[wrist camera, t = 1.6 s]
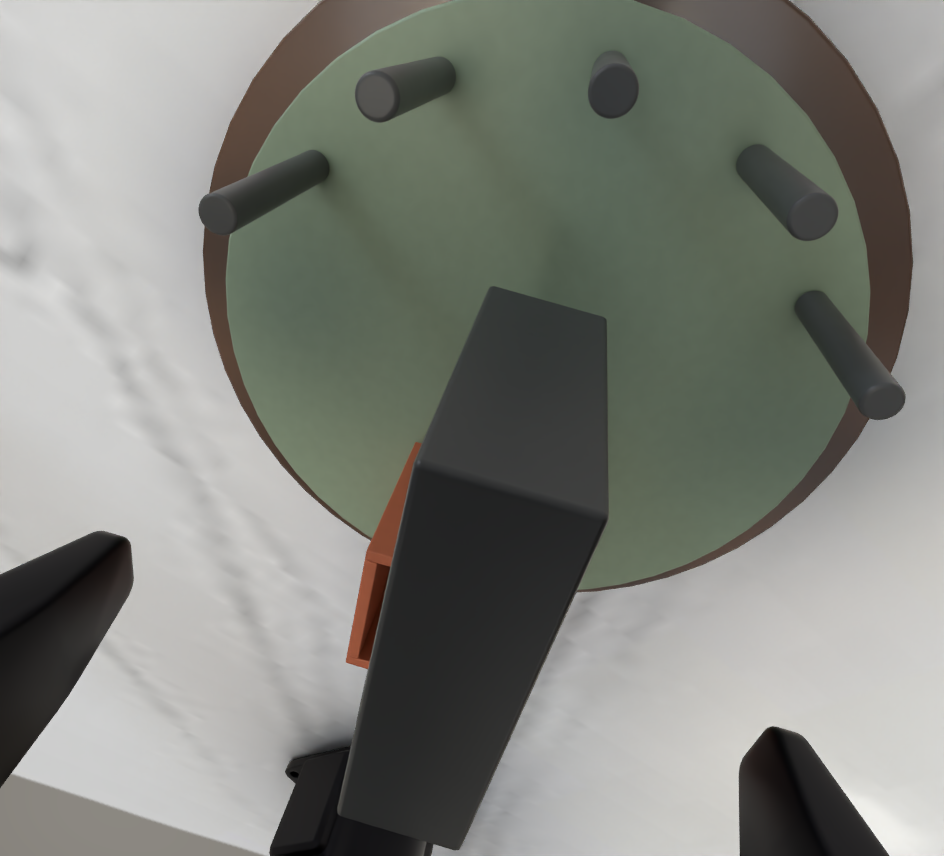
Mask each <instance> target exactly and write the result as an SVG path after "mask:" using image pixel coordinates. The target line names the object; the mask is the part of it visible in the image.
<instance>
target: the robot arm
mask: <svg viewBox="0 0 944 856" xmlns="http://www.w3.org/2000/svg"><path fill="white" fill-rule="evenodd" d="M133 579H134V576H133V565H132V553H131V544H130V542H129V540H128V539H127V538H125V537H123V536H119V535H116V534H112V533H109V532H105V531H97V532H93V533H90V534H88V535H86V536H84V537H82V538H79V539H77V540H75V541H73V542H71V543H68V544H66V545H64V546H62V547H60V548H57V549H55V550H53V551H51V552H49V553H47V554H44V555H42V556H40V557H38V558H36V559H33V560H31V561H29V562H27V563H25V564H22V565H20V566H18V567H16V568H14V569H11V570H9V571H7V572H5V573H3V574H0V788H1V786H2V785H3V784H4V782H5V781H6V779H7V778H8V777H9V775H10V774H11V773H12V771H13V770H14V769H15V767H16V766H17V765H18V763H19V762H20V761H21V759H22V758H23V757H24V755H25V754H26V753H27V751H28V750H29V749H30V747H31V746H32V745H33V743H34V742H35V741H36V739H37V738H38V736H39V735H40V734H41V732H42V731H43V730H44V728H45V727H46V726H47V724H48V723H49V722H50V720H51V719H52V718H53V716H54V715H55V714H56V712H57V711H58V710H59V708H60V707H61V705H62V704H63V702H64V701H65V700H66V698H67V697H68V695H69V694H70V692H71V691H72V689H73V688H74V686H75V684H76V683H77V681H78V680H79V678H80V676H81V675H82V673H83V671H84V670H85V668H86V666H87V665H88V663H89V661H90V660H91V658H92V656H93V655H94V653H95V651H96V649H97V648H98V646H99V644H100V643H101V641H102V639H103V638H104V636H105V634H106V633H107V631H108V629H109V628H110V626H111V624H112V623H113V621H114V619H115V618H116V616H117V614H118V613H119V611H120V609H121V608H122V606H123V604H124V603H125V601H126V599H127V598H128V596H129V594H130V591H131V589H132V586H133ZM350 749H351V746H349V747H345V748H341V749H337V750H333V751H329V752H325V753H320V754H316V755H312V756H308V757H304V758H300V759H296V760H292V761H290V762H289V764H288V766H287V768H286V771H285V773H286V775H287V776H288V777H289V778H290V779H291V780H292V781H293V782H294V783H295V787H294V789H293V792H292V794H291V797H290V799H289V802H288V804H287V807H286V809H285V812H284V814H283V817H282V819H281V822H280V824H279V827H278V829H277V831H276V834H275V836H274V839H273V841H272V844H271V847H270V852H269V853H270V856H431V854H432V849H433V844H432V843H429V842H425V841H422V840H419V839H415V838H412V837H409V836H406V835H402V834H399V833H396V832H392V831H389V830H386V829H382V828H379V827H376V826H372V825H369V824H366V823H362V822H359V821H356V820H352V819H349V818H346V817H343V816H340V815H339V814H338V811H337V808H338V803H339V798H340V794H341V789H342V785H343V780H344V776H345V771H346V767H347V762H348V758H349V753H350ZM739 831H740V856H889V854H888V853H887V852H886V850H885V849H884V847H883V846H882V845H881V843H880V842H879V840H878V839H877V838H876V836H875V835H874V833H873V832H872V831H871V829H870V828H869V827H868V825H867V824H866V822H865V821H864V820H863V818H862V817H861V815H860V814H859V813H858V811H857V810H856V808H855V807H854V806H853V804H852V803H851V801H850V800H849V799H848V797H847V796H846V794H845V793H844V792H843V790H842V789H841V787H840V786H839V785H838V783H837V782H836V780H835V779H834V778H833V776H832V775H831V773H830V772H829V771H828V769H827V768H826V766H825V765H824V764H823V762H822V761H821V759H820V758H819V757H818V755H817V754H816V752H815V751H814V750H813V748H812V747H811V745H810V744H809V743H808V741H807V740H806V739H805V738H804V737H803V736H802V735H800V734H798V733H796V732H792V731H789V730H786V729H782V728H779V727H774V726H772V727H769V728H767V729H766V730H765V731H764V732H763V733H762V735H761V736H760V737H759V738H758V740H757V741H756V742H755V743H754V745H753V746H752V747H751V748H750V750H749V751H748V752H747V753H746V754H745V756H744V757H743V759H742V762H741V764H740V769H739Z"/></svg>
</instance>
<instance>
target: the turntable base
mask: <svg viewBox="0 0 944 856" xmlns="http://www.w3.org/2000/svg"><path fill="white" fill-rule="evenodd" d="M450 1H453V0H321V1H320V2H319V3H318V4H317V5H316V6H315V7H314V8H313V9H312V10H311V11H310V12H309V13H308V14H307V15H306V16H305V17H304V18H303V19H302V20H301V21H300V22H299V23H298V24H297V25H296V26H295V27H294V28H293V29H292V30H291V31H290V32H289V33H288V34H287V35H286V36H285V37H284V38H283V39H282V40H281V42H280V43H279V45H278V46H277V47H276V49H275V50H274V51H273V53H272V54H271V55H270V57H269V58H268V59H267V61H266V62H265V64H264V65H263V66H262V68H261V69H260V70H259V72H258V73H257V74H256V76H255V77H254V78H253V80H252V82H251V84H250V86H249V88H248V90H247V91H246V93H245V95H244V97H243V99H242V101H241V103H240V105H239V107H238V108H237V110H236V112H235V114H234V116H233V118H232V120H231V122H230V125H229V127H228V130H227V133H226V136H225V139H224V141H223V144H222V147H221V150H220V153H219V155H218V158H217V161H216V164H215V167H214V172H213V177H212V182H211V187H210V192H209V193H212V192H214V191H216V190H219V189H221V188H223V187H225V186H228V185H230V184H232V183H235V182H237V181H239V180H241V179H244V178H246V177H247V176H248V174H249V171H250V169H251V166H252V164H253V161H254V160H255V158H256V156H257V154H258V153H259V151H260V149H261V147H262V146H263V144H264V142H265V140H266V139H267V137H268V135H269V133H270V132H271V130H272V128H273V126H274V125H275V123H276V122H277V121H278V120H279V118H280V117H281V116H282V115H283V113H284V112H285V111H286V110H287V108H288V107H289V106H290V104H291V103H292V102H293V101H294V99H295V98H296V97H297V96H298V94H299V93H300V92H301V91H302V89H304V88H305V87H306V86H307V85H308V84H309V83H310V82H311V81H312V80H313V79H314V78H315V77H316V76H317V75H319V74H320V73H321V72H322V71H323V70H324V69H325V68H326V67H327V66H328V65H329V64H330V63H331V62H333V61H334V60H335V59H336V58H337V57H339V56H340V55H342V54H343V53H345V52H346V51H347V50H349V49H350V48H352V47H353V46H355V45H356V44H358V43H359V42H361V41H362V40H364V39H365V38H367V37H368V36H370V35H371V34H373V33H374V32H376V31H377V30H380V29H382V28H384V27H386V26H388V25H390V24H392V23H394V22H397V21H399V20H401V19H403V18H405V17H407V16H409V15H411V14H413V13H416V12H418V11H420V10H422V9H426V8H429V7H433V6H436V5H439V4H443V3H446V2H450ZM634 1H637V2H639V3H642V4H645V5H648V6H651V7H653V8H656V9H659V10H662V11H664V12H667V13H670V14H673V15H676V16H678V17H681V18H684V19H686V20H687V21H689V22H691V23H693V24H695V25H697V26H698V27H700V28H702V29H704V30H706V31H707V32H709V33H711V34H713V35H715V36H716V37H718V38H720V39H722V40H724V41H726V42H727V43H729V44H731V45H732V46H733V47H735V48H736V49H737V50H739V51H740V52H741V53H742V54H744V55H745V56H746V57H748V58H749V59H750V60H751V61H753V62H754V63H755V64H756V65H758V66H759V67H760V68H762V69H763V70H764V71H765V72H767V73H768V74H769V75H770V76H772V77H773V78H774V79H775V80H776V81H777V83H778V84H779V85H780V86H781V87H782V88H783V89H784V90H785V91H786V92H787V93H788V94H789V96H790V97H791V98H792V99H793V100H794V101H795V102H796V103H797V104H798V105H799V106H800V108H801V109H802V110H803V111H804V112H805V113H806V114H807V115H808V117H809V118H810V120H811V121H812V123H813V124H814V126H815V127H816V129H817V130H818V132H819V133H820V135H821V137H822V138H823V140H824V141H825V143H826V144H827V146H828V147H829V149H830V150H831V152H832V153H833V155H834V156H835V158H836V161H837V163H838V165H839V167H840V170H841V172H842V174H843V176H844V179H845V181H846V183H847V185H848V188H849V190H850V192H851V194H852V197H853V199H854V201H855V205H856V209H857V213H858V217H859V220H860V224H861V228H862V232H863V236H864V240H865V244H866V249H867V260H868V270H869V281H870V306H869V322H868V335H867V340H866V344H867V345H868V347H869V348H870V349H871V350H872V352H873V353H874V354H875V355H876V357H877V358H878V359H879V360H880V361H881V363H882V364H883V365H884V366H885V368H886V369H887V370H888V371H889V373H890V374H891V371H892V369H893V366H894V364H895V361H896V359H897V356H898V352H899V347H900V343H901V339H902V335H903V331H904V327H905V323H906V319H907V315H908V311H909V300H910V290H911V279H912V268H913V252H912V236H911V220H910V209H909V205H908V200H907V196H906V191H905V187H904V183H903V178H902V174H901V169H900V165H899V160H898V158H897V155H896V153H895V150H894V148H893V145H892V143H891V140H890V138H889V135H888V133H887V131H886V128H885V126H884V123H883V121H882V118H881V116H880V113H879V111H878V109H877V107H876V105H875V104H874V102H873V100H872V99H871V97H870V96H869V94H868V92H867V91H866V89H865V87H864V86H863V84H862V83H861V81H860V79H859V78H858V76H857V75H856V73H855V71H854V70H853V68H852V66H851V65H850V63H849V62H848V60H847V59H846V58H845V57H844V56H843V54H842V53H841V52H840V51H839V50H838V49H837V48H836V46H835V45H834V44H833V43H832V42H831V41H830V40H829V39H828V37H827V36H826V35H825V34H824V33H823V32H822V31H821V29H820V28H819V27H818V26H817V25H816V24H815V23H814V21H813V20H812V19H811V18H810V17H809V16H808V15H807V14H805V13H804V12H803V11H802V10H800V9H799V8H798V7H797V6H795V5H794V4H793V3H792V2H791V1H789V0H634ZM229 238H230V234H229V235H224V236H223V235H218V234H215V233H213V232H211V231H210V230H208V229H207V228H206V227H205V229H204V245H203V261H204V276H205V292H206V298H207V303H208V309H209V314H210V319H211V324H212V329H213V334H214V337H215V340H216V343H217V346H218V350H219V353H220V356H221V359H222V362H223V365H224V368H225V371H226V373H227V375H228V378H229V380H230V382H231V384H232V386H233V389H234V391H235V393H236V395H237V397H238V400H239V402H240V404H241V406H242V407H243V409H244V411H245V412H246V414H247V416H248V417H249V419H250V421H251V422H252V424H253V426H254V427H255V429H256V431H257V432H258V434H259V436H260V437H261V439H262V440H263V441H264V443H265V444H266V445H267V446H268V448H269V449H270V450H271V452H272V453H273V454H274V456H275V457H276V458H277V460H278V461H279V462H280V464H281V465H282V466H283V467H284V468H285V469H286V470H287V471H288V473H289V474H290V475H291V476H292V477H293V478H294V479H295V480H296V481H297V482H298V483H299V484H300V485H301V486H302V488H303V489H304V490H305V491H306V492H307V493H309V494H310V495H311V496H312V497H313V498H314V499H315V500H317V501H318V502H319V503H320V504H321V505H322V506H323V507H325V508H326V509H327V510H328V511H329V512H330V513H331V514H333V515H334V516H335V517H337V518H338V519H340V520H341V521H342V522H344V523H345V524H347V525H348V526H349V527H351V528H352V529H354V530H355V531H356V532H358V533H359V534H361V535H362V536H364V537H366V538H367V539H369V540H372V538H370V537H369V536H367V535H366V534H365V533H363V532H362V531H360V530H359V529H358V528H356V527H355V526H353V525H352V524H351V523H349V522H348V521H346V520H345V519H344V518H342V517H341V516H340V515H339V514H338V513H337V512H335V511H334V510H333V509H332V508H331V507H330V506H329V505H327V504H326V503H325V502H324V501H323V500H322V499H321V498H319V497H318V496H317V495H316V494H315V493H314V491H313V490H312V489H311V488H310V487H309V486H308V485H307V484H306V483H305V482H304V481H303V480H302V479H301V477H300V476H299V475H298V474H297V473H296V472H295V471H294V469H293V468H292V467H291V465H290V464H289V463H288V461H287V460H286V459H285V457H284V456H283V455H282V453H281V452H280V451H279V449H278V448H277V447H276V445H275V444H274V442H273V440H272V439H271V437H270V435H269V434H268V432H267V430H266V428H265V427H264V425H263V423H262V422H261V420H260V418H259V417H258V415H257V412H256V410H255V408H254V406H253V403H252V401H251V399H250V397H249V394H248V392H247V390H246V388H245V385H244V382H243V379H242V376H241V373H240V370H239V366H238V363H237V360H236V357H235V353H234V350H233V344H232V338H231V333H230V327H229V321H228V316H227V296H226V269H227V258H228V246H229ZM868 420H869V418H867V417H865V416H864V415H863V414H861V412H860V411H859V409H858V408H857V406H856V405H855V403H854V402H853V400H852V399H851V397H850V400H849V403H848V405H847V408H846V411H845V413H844V415H843V417H842V419H841V421H840V423H839V424H838V426H837V428H836V430H835V432H834V433H833V435H832V437H831V439H830V441H829V443H828V444H827V446H826V448H825V450H824V451H823V452H822V454H821V455H820V456H819V458H818V459H817V460H816V462H815V463H814V464H813V466H812V467H811V468H810V470H809V471H808V473H807V474H806V475H805V477H804V478H803V479H802V480H801V481H800V482H799V483H798V485H797V486H796V487H795V488H794V489H793V490H792V491H791V492H790V493H789V494H788V495H787V496H786V497H785V498H784V499H783V500H782V501H781V502H780V503H779V504H778V505H777V506H776V507H775V508H774V509H773V510H771V511H770V512H769V513H768V514H767V515H765V516H764V517H763V518H762V519H760V520H759V521H758V522H757V523H756V524H754V525H753V526H752V527H751V528H749V529H748V530H747V531H745V532H743V533H742V534H740V535H739V536H737V537H736V538H734V539H732V540H731V541H729V542H728V543H726V544H725V545H723V546H721V547H720V548H718V549H716V550H714V551H712V552H710V553H708V554H706V555H704V556H702V557H700V558H698V559H696V560H694V561H692V562H690V563H688V564H686V565H683V566H680V567H677V568H675V569H672V570H669V571H666V572H664V573H661V574H658V575H655V576H652V577H648V578H644V579H640V580H636V581H632V582H628V583H624V584H620V585H613V586H606V587H599V588H592V589H581V590H577V592H594V591H602V590H609V589H616V588H623V587H630V586H635V585H639V584H643V583H647V582H651V581H655V580H659V579H663V578H667V577H670V576H673V575H675V574H678V573H681V572H684V571H687V570H689V569H692V568H695V567H698V566H701V565H703V564H705V563H707V562H709V561H712V560H714V559H716V558H718V557H720V556H722V555H724V554H726V553H728V552H730V551H732V550H734V549H736V548H738V547H740V546H741V545H743V544H745V543H746V542H748V541H749V540H751V539H753V538H754V537H756V536H757V535H759V534H761V533H762V532H764V531H765V530H767V529H769V528H770V527H772V526H773V525H774V524H775V523H777V522H778V521H779V520H780V519H782V518H783V517H784V516H785V515H787V514H788V513H789V512H790V511H792V510H793V509H794V508H795V507H797V506H798V505H799V504H800V503H802V502H803V501H804V500H805V499H806V498H807V497H808V496H809V495H810V494H811V493H812V492H813V491H814V490H815V489H816V488H817V487H818V486H819V485H820V484H821V483H822V482H823V481H824V480H825V479H826V478H827V476H828V475H829V474H830V473H831V472H832V471H833V470H834V469H835V467H836V466H837V465H838V463H839V462H840V461H841V459H842V458H843V457H844V456H845V454H846V453H847V452H848V450H849V449H850V448H851V446H852V445H853V444H854V442H855V441H856V440H857V439H858V437H859V435H860V433H861V432H862V430H863V428H864V427H865V425H866V423H867V421H868Z"/></svg>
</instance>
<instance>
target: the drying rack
mask: <svg viewBox="0 0 944 856" xmlns="http://www.w3.org/2000/svg"><path fill="white" fill-rule="evenodd" d="M199 216H200V219H201V221H202V223H203V224H204V226H205V227H206V228H207V229H208V230H210V231H211V232H213V233H215V234H218V235H223V236H224V235H229V234H230V238H229V246H228V258H227V269H226V296H227V316H228V321H229V327H230V333H231V338H232V344H233V350H234V353H235V357H236V360H237V363H238V366H239V370H240V373H241V376H242V379H243V382H244V385H245V388H246V390H247V392H248V394H249V397H250V399H251V401H252V403H253V406H254V408H255V410H256V412H257V415H258V417H259V418H260V420H261V422H262V423H263V425H264V427H265V428H266V430H267V432H268V434H269V435H270V437H271V439H272V440H273V442H274V444H275V445H276V447H277V448H278V449H279V451H280V452H281V453H282V455H283V456H284V457H285V459H286V460H287V461H288V463H289V464H290V465H291V467H292V468H293V469H294V471H295V472H296V473H297V474H298V475H299V476H300V477H301V479H302V480H303V481H304V482H305V483H306V484H307V485H308V486H309V487H310V488H311V489H312V490H313V491H314V493H315V494H316V495H317V496H318V497H319V498H321V499H322V500H323V501H324V502H325V503H326V504H327V505H329V506H330V507H331V508H332V509H333V510H334V511H335V512H337V513H338V514H339V515H340V516H341V517H342V518H344V519H345V520H346V521H348V522H349V523H351V524H352V525H353V526H355V527H356V528H358V529H359V530H360V531H362V532H363V533H365V534H366V535H367V536H369V537H370V538H372V540H371V542H370V544H369V546H368V549H367V552H366V557H365V562H364V567H363V573H362V578H361V583H360V589H359V594H358V599H357V605H356V610H355V615H354V621H353V626H352V631H351V636H350V642H349V647H348V652H347V658H346V663H349V664H352V665H356V666H359V667H363V668H366V669H368V671H367V676H366V680H365V685H364V689H363V694H362V699H361V703H360V708H359V712H358V717H357V721H356V726H355V730H354V735H353V739H352V744H351V749H350V753H349V758H348V762H347V767H346V771H345V776H344V780H343V785H342V789H341V794H340V798H339V803H338V808H337V811H338V814H339V815H340V816H343V817H346V818H349V819H352V820H356V821H359V822H362V823H366V824H369V825H372V826H376V827H379V828H382V829H386V830H389V831H392V832H396V833H399V834H402V835H406V836H409V837H412V838H415V839H419V840H422V841H425V842H429V843H432V844H435V845H439V846H442V847H445V848H449V849H452V850H459V849H460V847H461V846H462V844H463V842H464V839H465V837H466V835H467V833H468V830H469V828H470V826H471V824H472V822H473V819H474V817H475V815H476V813H477V811H478V808H479V806H480V804H481V802H482V800H483V797H484V795H485V793H486V791H487V788H488V786H489V784H490V782H491V780H492V777H493V775H494V773H495V771H496V769H497V766H498V764H499V762H500V760H501V758H502V755H503V753H504V751H505V749H506V746H507V744H508V742H509V740H510V738H511V735H512V733H513V731H514V729H515V727H516V724H517V722H518V720H519V718H520V715H521V713H522V711H523V709H524V707H525V704H526V702H527V700H528V698H529V696H530V693H531V691H532V689H533V687H534V685H535V682H536V680H537V678H538V676H539V673H540V671H541V669H542V667H543V665H544V662H545V660H546V658H547V656H548V654H549V651H550V649H551V647H552V645H553V643H554V640H555V638H556V636H557V634H558V631H559V629H560V627H561V625H562V623H563V620H564V618H565V616H566V614H567V612H568V609H569V607H570V605H571V603H572V601H573V598H574V596H575V594H576V592H577V590H581V589H592V588H599V587H606V586H613V585H620V584H624V583H628V582H632V581H636V580H640V579H644V578H648V577H652V576H655V575H658V574H661V573H664V572H666V571H669V570H672V569H675V568H677V567H680V566H683V565H686V564H688V563H690V562H692V561H694V560H696V559H698V558H700V557H702V556H704V555H706V554H708V553H710V552H712V551H714V550H716V549H718V548H720V547H721V546H723V545H725V544H726V543H728V542H729V541H731V540H732V539H734V538H736V537H737V536H739V535H740V534H742V533H743V532H745V531H747V530H748V529H749V528H751V527H752V526H753V525H754V524H756V523H757V522H758V521H759V520H760V519H762V518H763V517H764V516H765V515H767V514H768V513H769V512H770V511H771V510H773V509H774V508H775V507H776V506H777V505H778V504H779V503H780V502H781V501H782V500H783V499H784V498H785V497H786V496H787V495H788V494H789V493H790V492H791V491H792V490H793V489H794V488H795V487H796V486H797V485H798V483H799V482H800V481H801V480H802V479H803V478H804V477H805V475H806V474H807V473H808V471H809V470H810V468H811V467H812V466H813V464H814V463H815V462H816V460H817V459H818V458H819V456H820V455H821V454H822V452H823V451H824V450H825V448H826V446H827V444H828V443H829V441H830V439H831V437H832V435H833V433H834V432H835V430H836V428H837V426H838V424H839V423H840V421H841V419H842V417H843V415H844V413H845V411H846V408H847V405H848V403H849V400H850V397H851V399H852V400H853V402H854V403H855V405H856V406H857V408H858V409H859V411H860V412H861V414H863V415H864V416H865V417H867V418H870V419H874V420H883V419H887V418H890V417H892V416H894V415H896V414H897V413H898V412H899V411H900V410H901V409H902V408H903V406H904V403H905V392H904V390H903V389H902V387H901V386H900V385H899V384H898V382H897V381H896V380H895V379H894V377H893V376H892V375H891V374H890V373H889V371H888V370H887V369H886V368H885V366H884V365H883V364H882V363H881V361H880V360H879V359H878V358H877V357H876V355H875V354H874V353H873V352H872V350H871V349H870V348H869V347H868V345H867V344H866V340H867V335H868V322H869V306H870V281H869V270H868V260H867V249H866V244H865V240H864V236H863V232H862V228H861V224H860V220H859V217H858V213H857V209H856V205H855V201H854V199H853V197H852V194H851V192H850V190H849V188H848V185H847V183H846V181H845V179H844V176H843V174H842V172H841V170H840V167H839V165H838V163H837V161H836V158H835V156H834V155H833V153H832V152H831V150H830V149H829V147H828V146H827V144H826V143H825V141H824V140H823V138H822V137H821V135H820V133H819V132H818V130H817V129H816V127H815V126H814V124H813V123H812V121H811V120H810V118H809V117H808V115H807V114H806V113H805V112H804V111H803V110H802V109H801V108H800V106H799V105H798V104H797V103H796V102H795V101H794V100H793V99H792V98H791V97H790V96H789V94H788V93H787V92H786V91H785V90H784V89H783V88H782V87H781V86H780V85H779V84H778V83H777V81H776V80H775V79H774V78H773V77H772V76H770V75H769V74H768V73H767V72H765V71H764V70H763V69H762V68H760V67H759V66H758V65H756V64H755V63H754V62H753V61H751V60H750V59H749V58H748V57H746V56H745V55H744V54H742V53H741V52H740V51H739V50H737V49H736V48H735V47H733V46H732V45H731V44H729V43H727V42H726V41H724V40H722V39H720V38H718V37H716V36H715V35H713V34H711V33H709V32H707V31H706V30H704V29H702V28H700V27H698V26H697V25H695V24H693V23H691V22H689V21H687V20H686V19H684V18H681V17H678V16H676V15H673V14H670V13H667V12H664V11H662V10H659V9H656V8H653V7H651V6H648V5H645V4H642V3H639V2H637V1H634V0H453V1H450V2H446V3H443V4H439V5H436V6H433V7H429V8H426V9H422V10H420V11H418V12H416V13H413V14H411V15H409V16H407V17H405V18H403V19H401V20H399V21H397V22H394V23H392V24H390V25H388V26H386V27H384V28H382V29H380V30H377V31H376V32H374V33H373V34H371V35H370V36H368V37H367V38H365V39H364V40H362V41H361V42H359V43H358V44H356V45H355V46H353V47H352V48H350V49H349V50H347V51H346V52H345V53H343V54H342V55H340V56H339V57H337V58H336V59H335V60H334V61H333V62H331V63H330V64H329V65H328V66H327V67H326V68H325V69H324V70H323V71H322V72H321V73H320V74H319V75H317V76H316V77H315V78H314V79H313V80H312V81H311V82H310V83H309V84H308V85H307V86H306V87H305V88H304V89H302V91H301V92H300V93H299V94H298V96H297V97H296V98H295V99H294V101H293V102H292V103H291V104H290V106H289V107H288V108H287V110H286V111H285V112H284V113H283V115H282V116H281V117H280V118H279V120H278V121H277V122H276V123H275V125H274V126H273V128H272V130H271V132H270V133H269V135H268V137H267V139H266V140H265V142H264V144H263V146H262V147H261V149H260V151H259V153H258V154H257V156H256V158H255V160H254V161H253V164H252V166H251V169H250V171H249V174H248V176H247V177H246V178H244V179H241V180H239V181H237V182H235V183H232V184H230V185H228V186H225V187H223V188H221V189H219V190H216V191H214V192H212V193H209V194H207V195H205V196H204V197H203V198H202V200H201V201H200V204H199Z"/></svg>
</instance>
